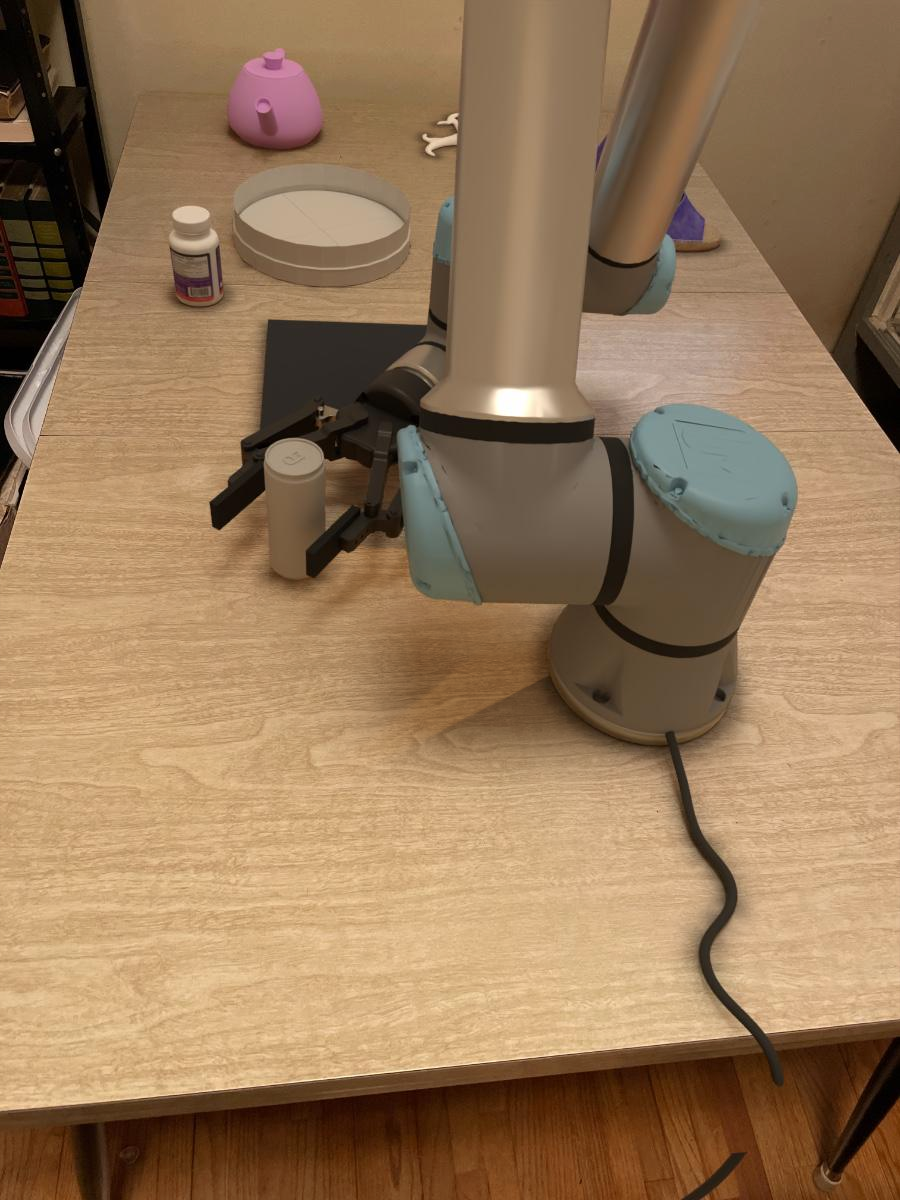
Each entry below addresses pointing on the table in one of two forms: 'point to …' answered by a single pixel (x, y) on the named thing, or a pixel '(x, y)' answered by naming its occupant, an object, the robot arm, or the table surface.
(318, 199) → the dish
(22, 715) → the table surface
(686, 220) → the sandal
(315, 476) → the beverage can
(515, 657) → the table surface
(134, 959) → the table surface
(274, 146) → the teapot
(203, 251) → the pill bottle
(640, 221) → the robot arm
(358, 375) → the mat
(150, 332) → the table surface
